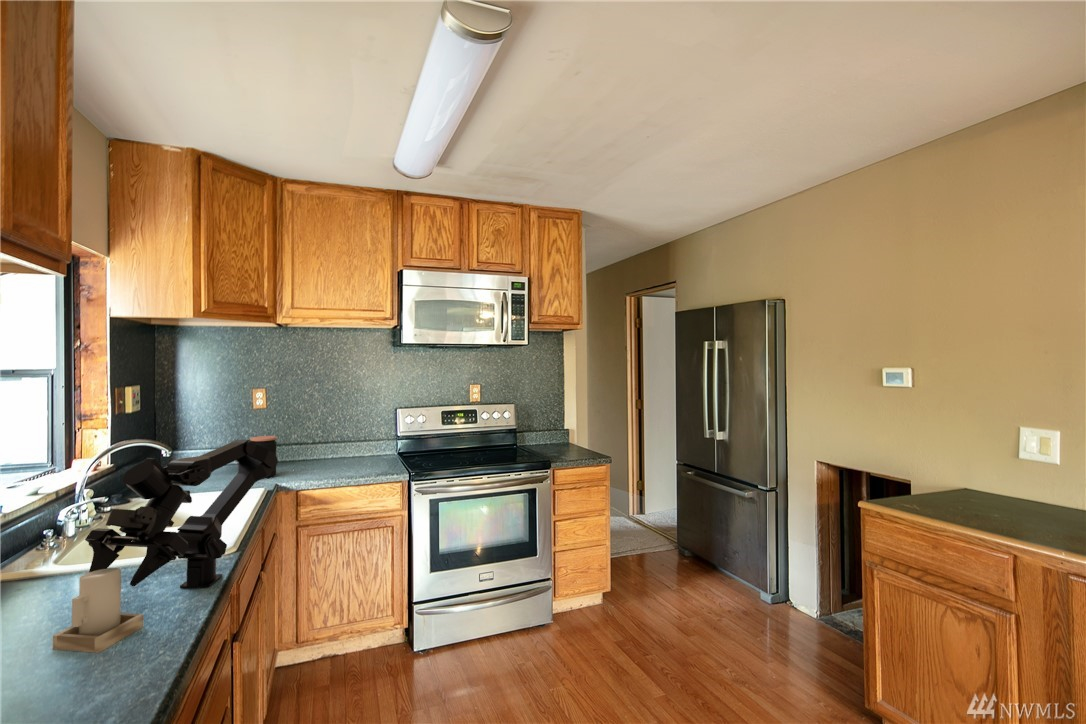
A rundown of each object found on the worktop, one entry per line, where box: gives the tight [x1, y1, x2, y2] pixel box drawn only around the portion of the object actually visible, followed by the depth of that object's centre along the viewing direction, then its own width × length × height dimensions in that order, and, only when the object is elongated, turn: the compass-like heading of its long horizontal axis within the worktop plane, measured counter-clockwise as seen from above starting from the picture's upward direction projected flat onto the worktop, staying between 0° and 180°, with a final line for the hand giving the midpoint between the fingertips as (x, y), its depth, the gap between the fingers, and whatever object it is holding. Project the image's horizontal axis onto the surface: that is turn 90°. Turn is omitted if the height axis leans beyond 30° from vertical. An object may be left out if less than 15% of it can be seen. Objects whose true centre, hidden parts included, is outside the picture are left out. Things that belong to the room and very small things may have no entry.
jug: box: [71, 567, 122, 636], centre depth 97 cm, size 8×6×12 cm
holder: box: [52, 612, 144, 654], centre depth 98 cm, size 9×9×2 cm
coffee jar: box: [249, 435, 277, 480], centre depth 236 cm, size 11×11×18 cm
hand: (110, 584), depth 100 cm, fingers open, 9 cm apart
